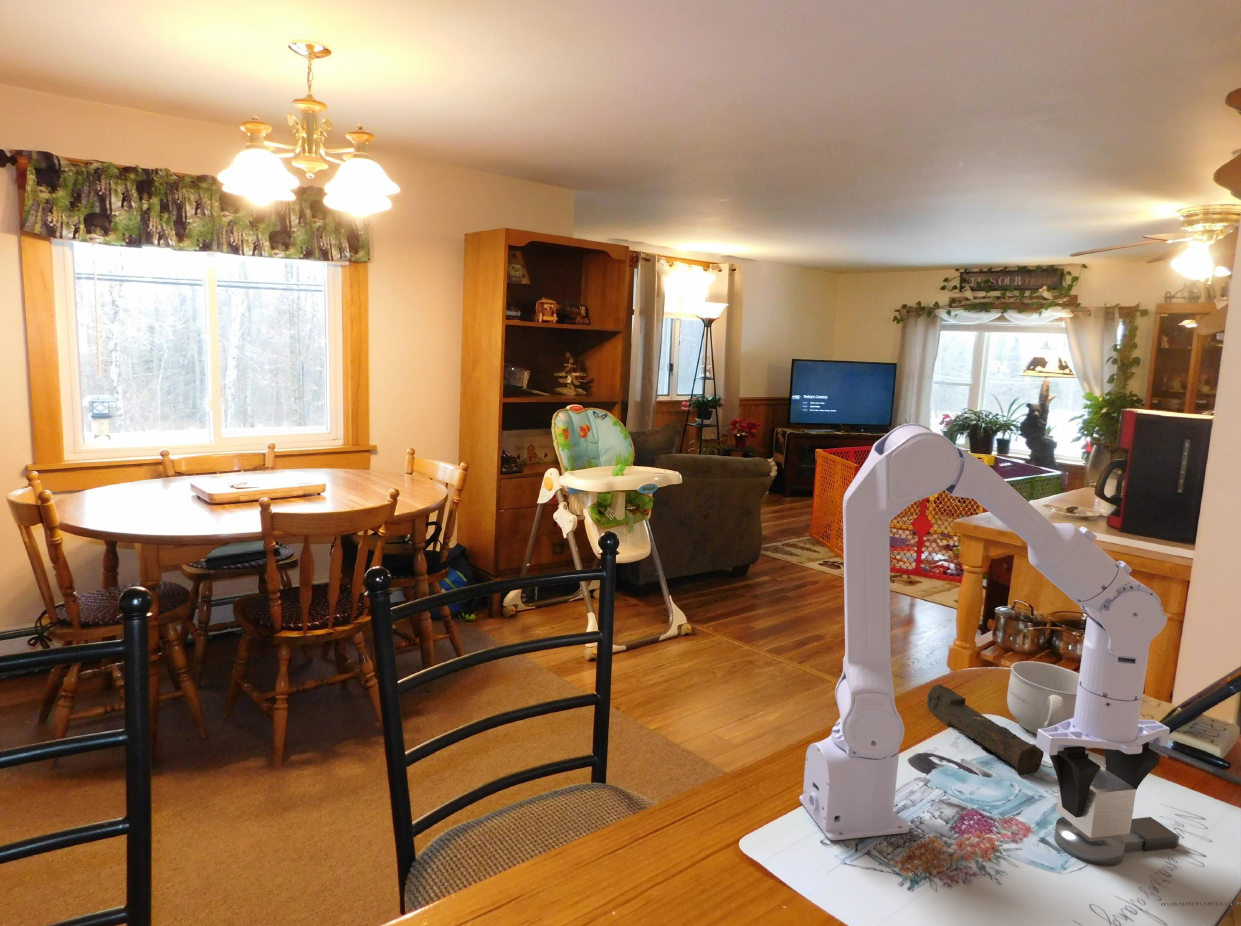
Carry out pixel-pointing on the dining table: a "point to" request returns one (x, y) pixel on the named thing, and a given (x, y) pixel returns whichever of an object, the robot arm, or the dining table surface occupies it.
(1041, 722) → the teacup
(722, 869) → the dining table surface
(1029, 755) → the brown wooden log
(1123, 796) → the socket
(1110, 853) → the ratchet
